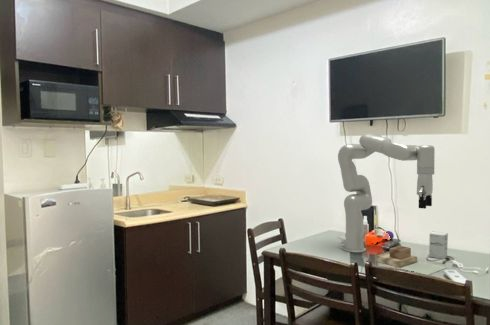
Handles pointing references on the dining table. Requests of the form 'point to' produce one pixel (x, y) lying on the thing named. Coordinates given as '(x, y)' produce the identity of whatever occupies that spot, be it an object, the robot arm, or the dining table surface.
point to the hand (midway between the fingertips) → (425, 207)
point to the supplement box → (438, 245)
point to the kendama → (390, 234)
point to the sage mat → (423, 268)
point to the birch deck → (395, 260)
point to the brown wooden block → (400, 252)
